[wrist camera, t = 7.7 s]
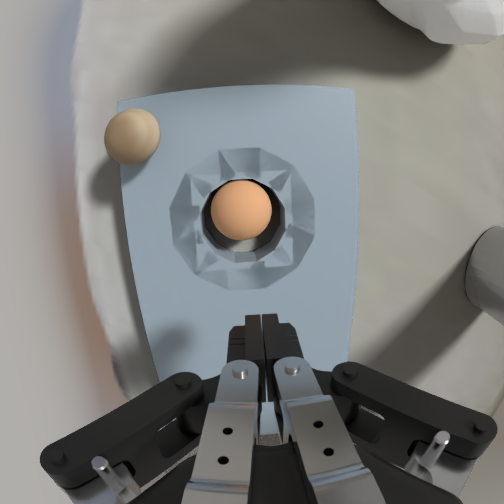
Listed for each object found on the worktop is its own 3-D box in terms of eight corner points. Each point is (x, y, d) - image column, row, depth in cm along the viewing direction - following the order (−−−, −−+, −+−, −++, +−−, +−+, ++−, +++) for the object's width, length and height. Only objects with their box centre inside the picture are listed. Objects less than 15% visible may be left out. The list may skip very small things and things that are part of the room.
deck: (329, 408, 28) (335, 425, 25) (181, 419, 27) (178, 436, 25) (341, 96, 19) (353, 88, 17) (129, 108, 19) (117, 102, 16)
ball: (245, 179, 22) (265, 164, 18) (267, 228, 22) (291, 222, 18) (196, 199, 20) (207, 186, 17) (219, 251, 21) (235, 249, 17)
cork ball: (151, 103, 16) (134, 91, 13) (176, 146, 17) (163, 141, 14) (109, 133, 17) (85, 128, 13) (132, 175, 18) (111, 177, 14)
